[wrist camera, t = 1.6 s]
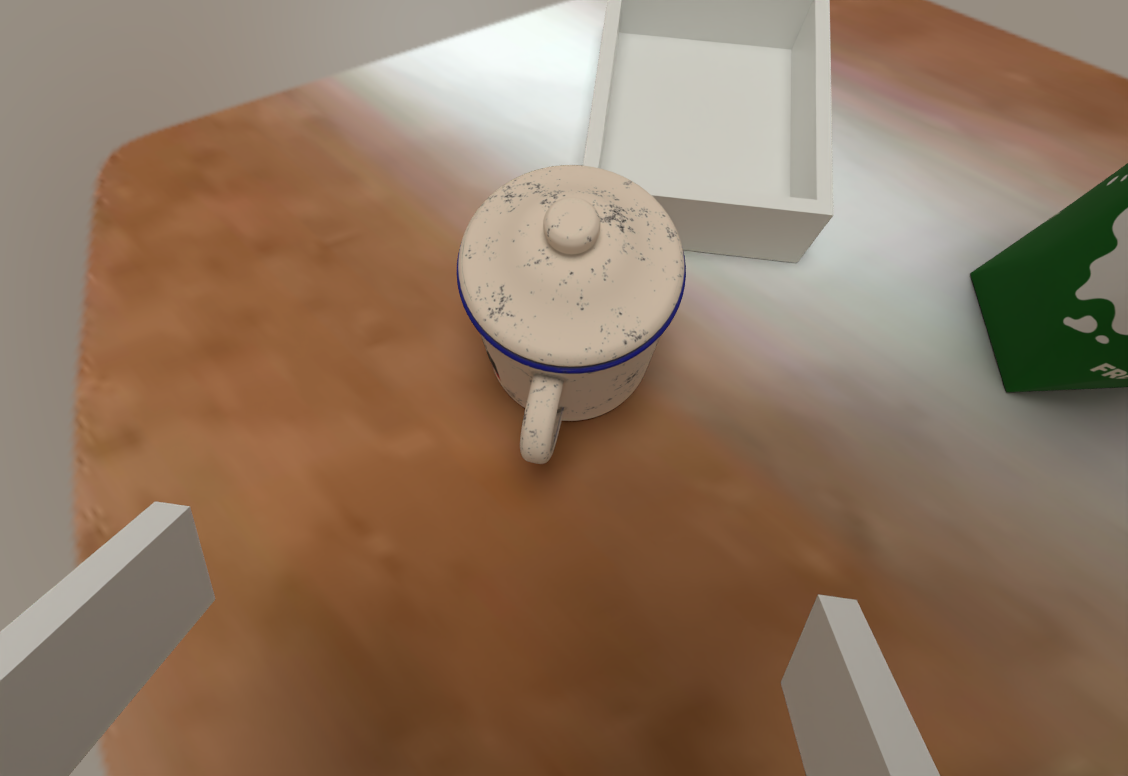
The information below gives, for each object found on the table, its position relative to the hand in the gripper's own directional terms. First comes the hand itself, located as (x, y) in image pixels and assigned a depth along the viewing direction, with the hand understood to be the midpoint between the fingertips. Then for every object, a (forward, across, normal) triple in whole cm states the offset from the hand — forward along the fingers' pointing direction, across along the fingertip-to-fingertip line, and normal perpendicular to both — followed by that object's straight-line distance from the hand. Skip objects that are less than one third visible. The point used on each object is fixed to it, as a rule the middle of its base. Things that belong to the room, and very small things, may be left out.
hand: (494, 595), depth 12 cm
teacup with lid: (+18, 0, -3) cm, 19 cm away
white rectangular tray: (+30, +6, +8) cm, 31 cm away
